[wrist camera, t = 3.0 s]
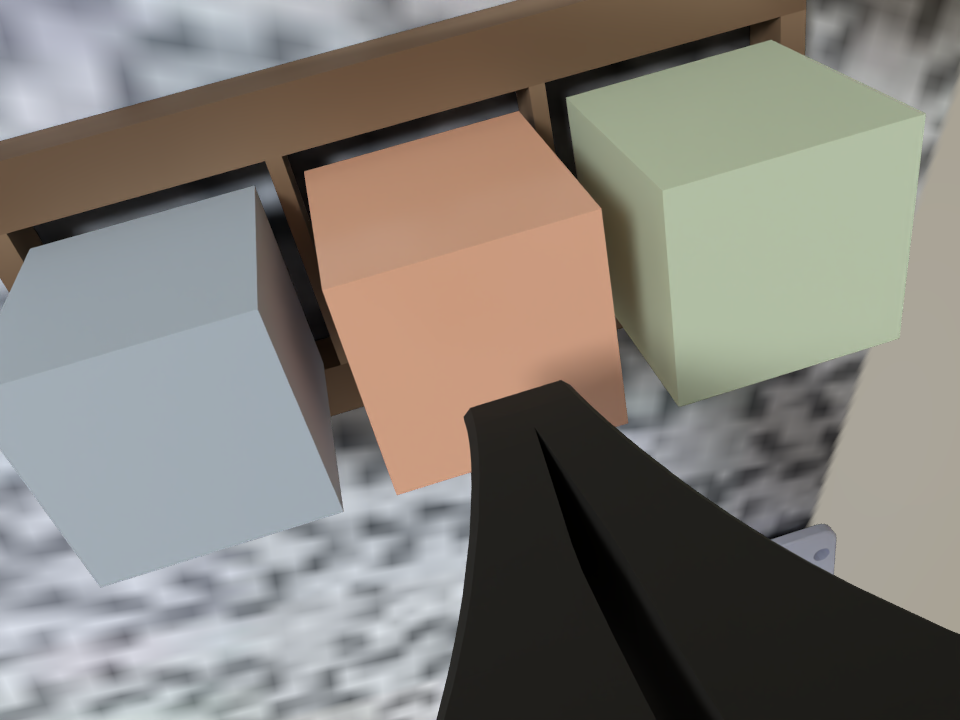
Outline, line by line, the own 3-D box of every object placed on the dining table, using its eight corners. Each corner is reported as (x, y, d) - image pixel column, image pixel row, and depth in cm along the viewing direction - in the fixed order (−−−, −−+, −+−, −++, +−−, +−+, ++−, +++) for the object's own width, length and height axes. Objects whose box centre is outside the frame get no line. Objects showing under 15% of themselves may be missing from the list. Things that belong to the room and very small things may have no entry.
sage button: (769, 230, 18) (899, 338, 14) (591, 282, 18) (678, 407, 14) (771, 39, 16) (925, 113, 12) (566, 98, 15) (662, 190, 12)
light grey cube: (323, 363, 17) (343, 512, 14) (130, 420, 17) (99, 587, 13) (254, 185, 15) (258, 308, 11) (30, 248, 15) (-39, 395, 11)
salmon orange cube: (551, 295, 18) (628, 423, 14) (365, 350, 17) (396, 495, 14) (518, 111, 15) (601, 208, 12) (304, 171, 15) (322, 289, 11)
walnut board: (771, 251, 20) (798, 274, 19) (131, 443, 19) (125, 479, 18) (773, -70, 16) (808, -61, 15) (-43, 152, 15) (-62, 177, 14)
